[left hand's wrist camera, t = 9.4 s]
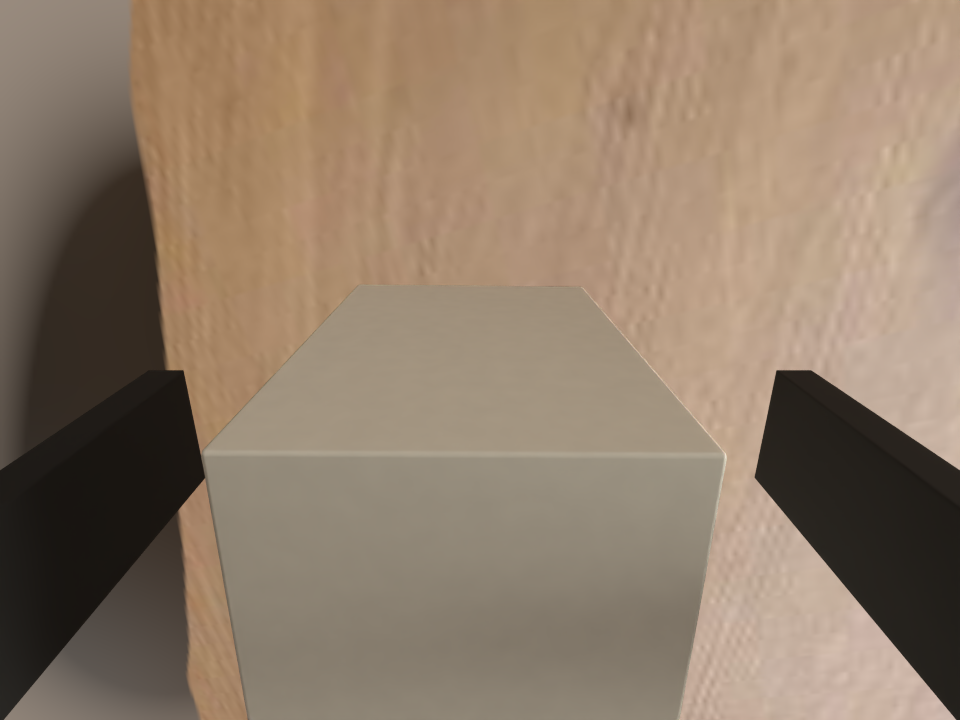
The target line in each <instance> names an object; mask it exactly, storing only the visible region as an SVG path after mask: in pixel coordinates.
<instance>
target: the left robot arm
mask: <svg viewBox="0 0 960 720" xmlns="http://www.w3.org/2000/svg"><path fill="white" fill-rule="evenodd" d="M204 479H205V474H204V468H203V464H202V459H201V454H200V449H199V444H198V439H197V434H196V429H195V425H194V420H193V415H192V410H191V405H190V400H189V395H188V390H187V385H186V381H185V376H184V371H183V370H149V371H147V372H146V373H144V374H143V375H141V376H140V377H138V378H137V379H135V380H134V381H132V382H131V383H129V384H128V385H126V386H125V387H123V388H122V389H120V390H119V391H118V392H116V393H115V394H113V395H112V396H110V397H109V398H107V399H106V400H104V401H103V402H101V403H100V404H98V405H97V406H95V407H94V408H92V409H91V410H89V411H88V412H86V413H85V414H83V415H82V416H80V417H79V418H77V419H76V420H74V421H73V422H71V423H70V424H69V425H67V426H65V427H64V428H63V429H61V430H60V431H58V432H57V433H55V434H54V435H52V436H51V437H49V438H48V439H46V440H45V441H43V442H42V443H40V444H39V445H37V446H36V447H34V448H33V449H31V450H30V451H28V452H27V453H25V454H24V455H22V456H21V457H19V458H18V459H17V460H15V461H13V462H12V463H10V464H9V465H8V466H6V467H5V468H3V469H2V470H0V720H4V719H5V717H6V716H7V715H8V714H9V713H10V711H11V710H12V709H13V708H14V707H15V705H16V704H17V703H18V702H19V701H20V699H21V698H22V697H23V696H24V695H25V693H26V692H27V691H28V690H29V689H30V687H31V686H32V685H33V684H34V683H35V681H36V680H37V679H38V678H39V677H40V675H41V674H42V673H43V672H44V671H45V669H46V668H47V667H48V666H49V665H50V663H51V662H52V661H53V660H54V659H55V657H56V656H57V655H58V654H59V653H60V651H61V650H62V649H63V648H64V647H65V645H66V644H67V643H68V642H69V641H70V639H71V638H72V637H73V636H74V635H75V633H76V632H77V631H78V630H79V629H80V627H81V626H82V625H83V624H84V623H85V621H86V620H87V619H88V618H89V617H90V615H91V614H92V613H93V612H94V611H95V609H96V608H97V607H98V606H99V605H100V603H101V602H102V601H103V600H104V599H105V597H106V596H107V595H108V594H109V593H110V591H111V590H112V589H113V588H114V587H115V585H116V584H117V583H118V582H119V581H120V579H121V578H122V577H123V576H124V575H125V573H126V572H127V571H128V570H129V569H130V567H131V566H132V565H133V564H134V563H135V561H136V560H137V559H138V558H139V557H140V555H141V554H142V553H143V552H144V551H145V549H146V548H147V547H148V546H149V544H150V543H151V542H152V541H153V540H154V539H155V537H156V536H157V535H158V534H159V533H160V531H161V530H162V529H163V528H164V527H165V525H166V524H167V523H168V522H169V521H170V519H171V518H172V517H173V516H174V515H175V513H176V512H177V511H178V510H179V509H180V507H181V506H182V505H183V504H184V503H185V501H186V500H187V499H188V498H189V497H190V495H191V494H192V493H193V492H194V491H195V489H196V488H197V487H198V486H199V485H200V483H201V482H202V481H203V480H204ZM755 479H756V480H757V481H758V482H759V483H760V485H761V486H762V487H763V488H764V489H765V491H766V492H767V493H768V494H769V495H770V497H771V498H772V499H773V500H774V501H775V503H776V504H777V505H778V506H779V507H780V509H781V510H782V511H783V512H784V513H785V515H786V516H787V517H788V518H789V519H790V521H791V522H792V523H793V524H794V525H795V527H796V528H797V529H798V530H799V531H800V533H801V534H802V535H803V536H804V537H805V539H806V540H807V541H808V542H809V543H810V545H811V546H812V547H813V548H814V549H815V551H816V552H817V553H818V554H819V555H820V557H821V558H822V559H823V560H824V561H825V563H826V564H827V565H828V566H829V567H830V569H831V570H832V571H833V572H834V573H835V575H836V576H837V577H838V578H839V579H840V581H841V582H842V583H843V584H844V585H845V587H846V588H847V589H848V590H849V591H850V593H851V594H852V595H853V596H854V597H855V599H856V600H857V601H858V602H859V603H860V605H861V606H862V607H863V608H864V609H865V611H866V612H867V613H868V614H869V615H870V617H871V618H872V619H873V620H874V621H875V623H876V624H877V625H878V626H879V627H880V629H881V630H882V631H883V632H884V633H885V635H886V636H887V637H888V638H889V639H890V641H891V642H892V643H893V644H894V645H895V647H896V648H897V649H898V650H899V651H900V653H901V654H902V655H903V656H904V657H905V659H906V660H907V661H908V662H909V663H910V665H911V666H912V667H913V668H914V669H915V671H916V672H917V673H918V674H919V675H920V677H921V678H922V679H923V680H924V681H925V683H926V684H927V685H928V686H929V687H930V689H931V690H932V691H933V692H934V693H935V695H936V696H937V697H938V698H939V699H940V701H941V702H942V703H943V704H944V705H945V707H946V708H947V709H948V710H949V711H950V713H951V714H952V715H953V716H954V717H955V719H956V720H960V470H958V469H957V468H955V467H954V466H953V465H951V464H950V463H948V462H947V461H945V460H944V459H942V458H941V457H939V456H938V455H936V454H935V453H933V452H932V451H930V450H929V449H927V448H926V447H924V446H923V445H921V444H920V443H918V442H917V441H915V440H914V439H912V438H911V437H909V436H908V435H906V434H905V433H903V432H902V431H900V430H899V429H898V428H896V427H895V426H893V425H892V424H890V423H889V422H887V421H886V420H884V419H883V418H881V417H880V416H878V415H877V414H875V413H874V412H872V411H871V410H869V409H868V408H866V407H865V406H863V405H862V404H860V403H859V402H857V401H856V400H854V399H853V398H851V397H850V396H848V395H847V394H845V393H844V392H842V391H841V390H840V389H838V388H837V387H835V386H834V385H832V384H831V383H829V382H828V381H826V380H825V379H823V378H822V377H820V376H819V375H817V374H816V373H814V372H813V371H811V370H777V371H776V376H775V381H774V385H773V390H772V395H771V400H770V405H769V410H768V415H767V420H766V425H765V429H764V434H763V439H762V444H761V449H760V454H759V459H758V464H757V468H756V473H755Z"/></svg>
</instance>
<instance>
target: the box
mask: <svg viewBox="0 0 960 720" xmlns="http://www.w3.org/2000/svg"><path fill="white" fill-rule="evenodd" d="M201 457H202V463H203V468H204V474H205V480H206V485H207V491H208V497H209V502H210V508H211V513H212V519H213V525H214V530H215V536H216V542H217V547H218V553H219V559H220V564H221V570H222V576H223V581H224V587H225V593H226V598H227V604H228V610H229V615H230V621H231V627H232V632H233V638H234V644H235V649H236V655H237V661H238V666H239V672H240V678H241V683H242V689H243V695H244V700H245V706H246V712H247V717H248V720H679V719H680V714H681V708H682V702H683V697H684V691H685V686H686V680H687V675H688V669H689V664H690V658H691V653H692V647H693V642H694V636H695V631H696V625H697V620H698V614H699V609H700V603H701V598H702V592H703V587H704V581H705V576H706V570H707V565H708V559H709V554H710V548H711V543H712V537H713V531H714V526H715V520H716V515H717V509H718V504H719V498H720V493H721V487H722V482H723V476H724V471H725V465H726V460H727V457H726V453H725V452H724V451H723V450H722V448H721V447H720V446H719V445H718V444H717V443H716V442H715V440H714V439H713V438H712V437H711V436H710V435H709V433H708V432H707V431H706V430H705V429H704V428H703V426H702V425H701V424H700V423H699V422H698V421H697V420H696V418H695V417H694V416H693V415H692V414H691V413H690V411H689V410H688V409H687V408H686V407H685V406H684V404H683V403H682V402H681V401H680V400H679V399H678V398H677V396H676V395H675V394H674V393H673V392H672V391H671V389H670V388H669V387H668V386H667V385H666V384H665V382H664V381H663V380H662V379H661V378H660V377H659V376H658V374H657V373H656V372H655V371H654V370H653V369H652V367H651V366H650V365H649V364H648V363H647V362H646V360H645V359H644V358H643V357H642V356H641V355H640V354H639V352H638V351H637V350H636V349H635V348H634V347H633V345H632V344H631V343H630V342H629V341H628V340H627V338H626V337H625V336H624V335H623V334H622V333H621V332H620V330H619V329H618V328H617V327H616V326H615V325H614V323H613V322H612V321H611V320H610V319H609V318H608V316H607V315H606V314H605V313H604V312H603V311H602V310H601V308H600V307H599V306H598V305H597V304H596V303H595V301H594V300H593V299H592V298H591V297H590V296H589V294H588V293H587V292H586V291H585V290H584V289H583V288H582V287H564V286H456V285H358V286H357V287H356V288H355V289H354V290H353V291H352V292H351V293H350V294H349V295H348V296H347V298H346V299H345V300H344V301H343V302H342V303H341V304H340V305H339V306H338V307H337V308H336V309H335V310H334V311H333V312H332V313H331V315H330V316H329V317H328V318H327V319H326V320H325V321H324V322H323V323H322V324H321V325H320V326H319V327H318V328H317V329H316V330H315V332H314V333H313V334H312V335H311V336H310V337H309V338H308V339H307V340H306V341H305V342H304V343H303V344H302V345H301V346H300V347H299V349H298V350H297V351H296V352H295V353H294V354H293V355H292V356H291V357H290V358H289V359H288V360H287V361H286V362H285V363H284V364H283V366H282V367H281V368H280V369H279V370H278V371H277V372H276V373H275V374H274V375H273V376H272V377H271V378H270V379H269V380H268V381H267V383H266V384H265V385H264V386H263V387H262V388H261V389H260V390H259V391H258V392H257V393H256V394H255V395H254V396H253V397H252V398H251V400H250V401H249V402H248V403H247V404H246V405H245V406H244V407H243V408H242V409H241V410H240V411H239V412H238V413H237V414H236V415H235V417H234V418H233V419H232V420H231V421H230V422H229V423H228V424H227V425H226V426H225V427H224V428H223V429H222V430H221V431H220V432H219V434H218V435H217V436H216V437H215V438H214V439H213V440H212V441H211V442H210V443H209V444H208V445H207V446H206V447H205V448H204V449H203V451H202V455H201Z"/></svg>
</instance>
